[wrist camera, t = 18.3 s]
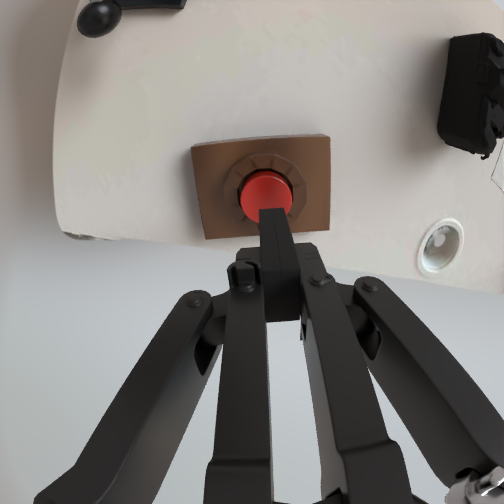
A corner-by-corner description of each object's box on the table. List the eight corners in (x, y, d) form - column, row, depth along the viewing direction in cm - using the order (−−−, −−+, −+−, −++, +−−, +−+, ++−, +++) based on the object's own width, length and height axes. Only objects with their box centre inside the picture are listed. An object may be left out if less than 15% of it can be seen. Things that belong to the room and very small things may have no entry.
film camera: (479, 166, 23) (528, 191, 15) (428, 135, 22) (484, 154, 14) (496, 67, 16) (545, 72, 8) (446, 26, 15) (498, 16, 7)
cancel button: (243, 217, 23) (243, 226, 22) (238, 172, 21) (237, 178, 20) (290, 214, 23) (292, 222, 22) (288, 169, 21) (291, 174, 20)
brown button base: (208, 230, 28) (202, 249, 24) (195, 143, 23) (185, 150, 20) (324, 221, 27) (334, 239, 24) (323, 134, 23) (336, 139, 19)
